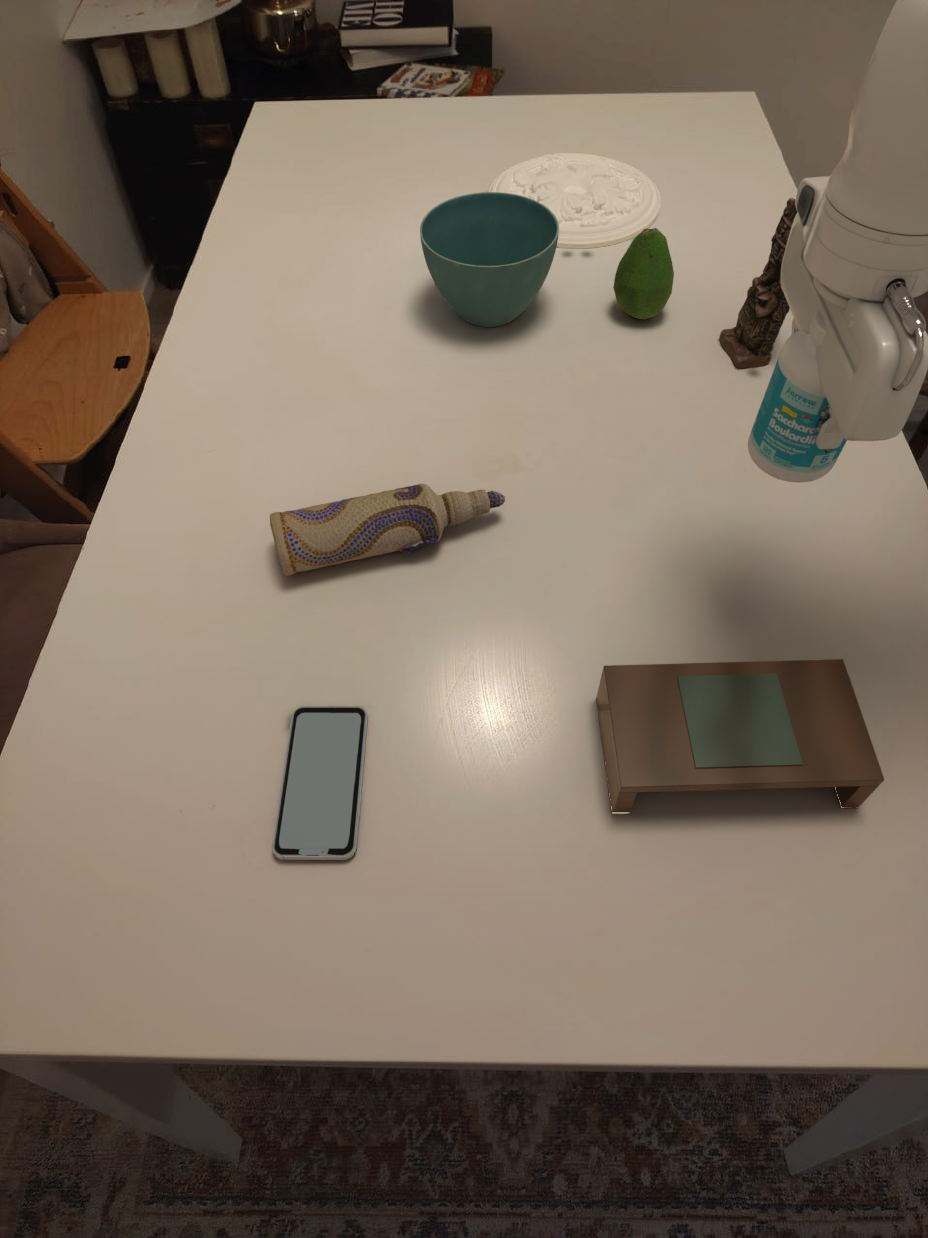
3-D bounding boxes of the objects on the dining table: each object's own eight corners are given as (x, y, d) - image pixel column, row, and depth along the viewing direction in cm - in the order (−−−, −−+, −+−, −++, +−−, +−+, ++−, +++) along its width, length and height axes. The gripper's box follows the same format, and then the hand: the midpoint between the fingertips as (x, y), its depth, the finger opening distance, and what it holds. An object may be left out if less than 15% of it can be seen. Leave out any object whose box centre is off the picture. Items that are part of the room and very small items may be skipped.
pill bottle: (742, 478, 70) (792, 342, 59) (747, 421, 74) (794, 283, 63) (834, 493, 69) (902, 357, 58) (834, 434, 73) (897, 297, 62)
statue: (716, 338, 113) (756, 192, 97) (766, 332, 113) (814, 185, 97) (735, 370, 109) (780, 222, 93) (786, 363, 110) (839, 215, 93)
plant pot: (425, 351, 112) (419, 268, 102) (424, 275, 123) (419, 192, 113) (558, 347, 112) (565, 263, 102) (546, 271, 123) (551, 188, 113)
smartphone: (368, 705, 80) (355, 857, 71) (369, 710, 80) (356, 861, 71) (292, 705, 80) (269, 857, 71) (294, 711, 80) (271, 861, 71)
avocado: (653, 293, 119) (668, 211, 109) (675, 325, 115) (693, 243, 105) (601, 302, 118) (611, 221, 108) (621, 335, 114) (634, 253, 104)
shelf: (821, 691, 80) (844, 657, 75) (858, 808, 73) (886, 779, 68) (596, 698, 80) (603, 664, 75) (611, 815, 74) (621, 786, 68)
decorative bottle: (285, 592, 89) (272, 551, 83) (276, 541, 93) (263, 499, 88) (514, 542, 92) (516, 500, 87) (495, 495, 96) (496, 452, 91)
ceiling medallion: (617, 266, 123) (620, 246, 121) (456, 219, 132) (455, 199, 129) (686, 182, 137) (690, 163, 135) (536, 145, 146) (537, 125, 143)
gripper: (983, 336, 49) (889, 498, 61) (879, 167, 61) (816, 328, 72) (878, 338, 49) (803, 499, 61) (794, 168, 61) (744, 329, 73)
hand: (810, 405), depth 67 cm, fingers closed on pill bottle, 7 cm apart
